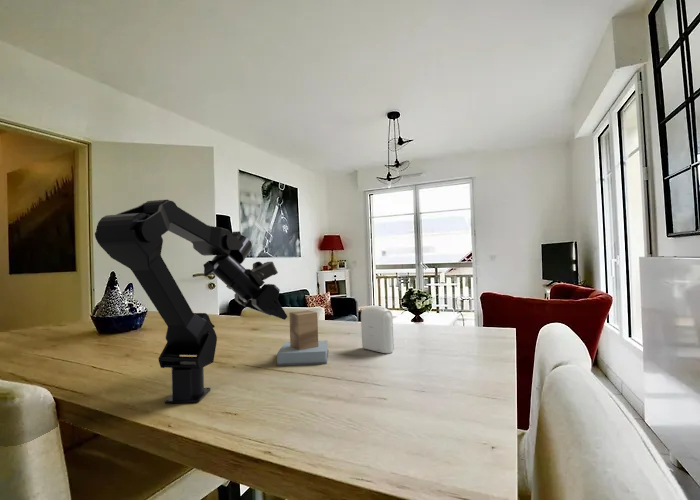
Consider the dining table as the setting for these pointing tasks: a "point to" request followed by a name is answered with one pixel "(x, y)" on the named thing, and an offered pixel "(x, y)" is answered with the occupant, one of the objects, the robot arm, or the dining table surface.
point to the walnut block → (303, 329)
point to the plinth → (302, 355)
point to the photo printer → (377, 329)
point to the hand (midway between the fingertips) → (278, 316)
